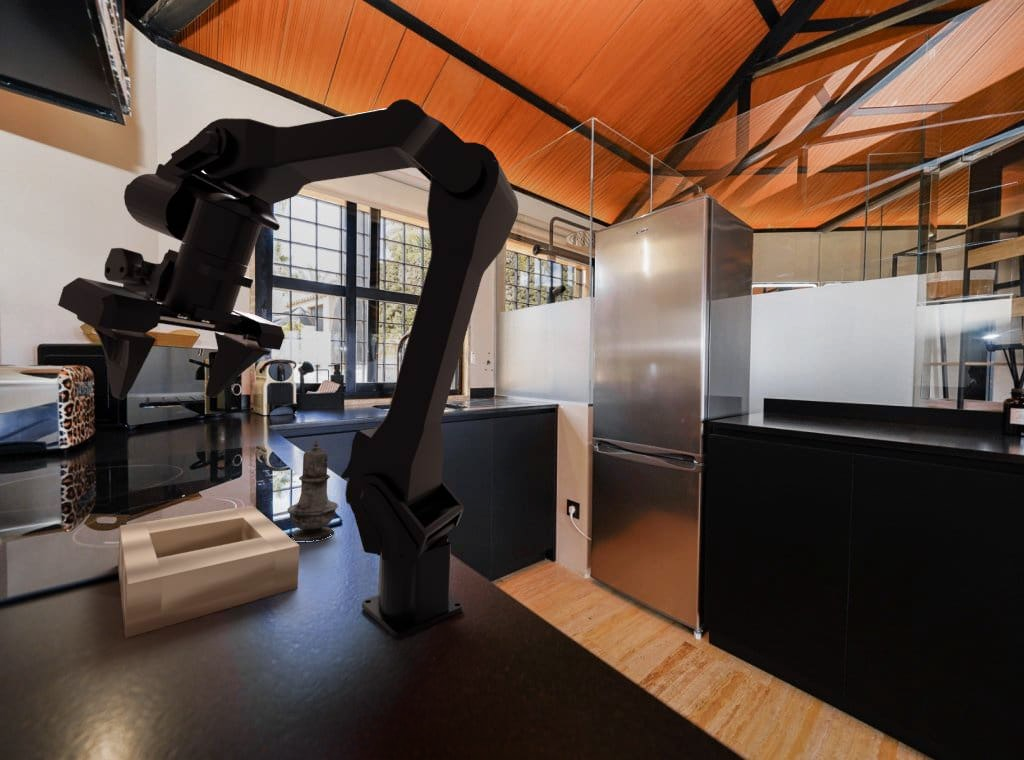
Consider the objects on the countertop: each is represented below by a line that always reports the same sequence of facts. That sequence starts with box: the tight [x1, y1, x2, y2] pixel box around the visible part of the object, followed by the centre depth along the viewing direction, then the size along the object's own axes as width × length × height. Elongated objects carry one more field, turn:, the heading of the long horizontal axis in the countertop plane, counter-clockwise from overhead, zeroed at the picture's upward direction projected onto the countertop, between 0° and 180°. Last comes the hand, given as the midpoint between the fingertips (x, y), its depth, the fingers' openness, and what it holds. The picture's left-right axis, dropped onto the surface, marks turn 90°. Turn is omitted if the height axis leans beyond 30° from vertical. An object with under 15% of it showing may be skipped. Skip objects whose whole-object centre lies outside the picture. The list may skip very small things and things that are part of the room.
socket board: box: [117, 505, 300, 639], centre depth 41 cm, size 17×12×4 cm
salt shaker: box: [287, 440, 339, 542], centre depth 53 cm, size 6×6×12 cm
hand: (168, 397), depth 44 cm, fingers open, 9 cm apart
